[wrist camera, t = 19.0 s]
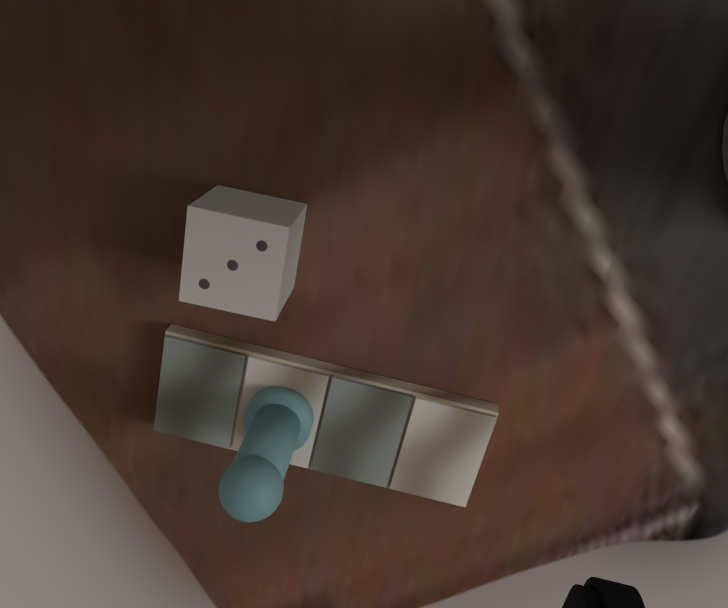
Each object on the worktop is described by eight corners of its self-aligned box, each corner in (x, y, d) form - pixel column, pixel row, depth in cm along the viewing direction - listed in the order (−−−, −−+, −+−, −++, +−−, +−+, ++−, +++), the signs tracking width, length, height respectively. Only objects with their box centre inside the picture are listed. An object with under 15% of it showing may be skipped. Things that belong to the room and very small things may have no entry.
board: (497, 404, 40) (499, 415, 38) (464, 496, 42) (465, 510, 41) (171, 324, 40) (163, 333, 39) (159, 421, 42) (151, 432, 41)
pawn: (319, 395, 39) (290, 486, 31) (306, 450, 41) (276, 551, 33) (253, 379, 39) (207, 465, 31) (243, 435, 41) (197, 531, 33)
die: (307, 203, 36) (289, 228, 32) (293, 289, 38) (274, 324, 34) (216, 184, 36) (184, 205, 32) (207, 270, 38) (176, 303, 34)
